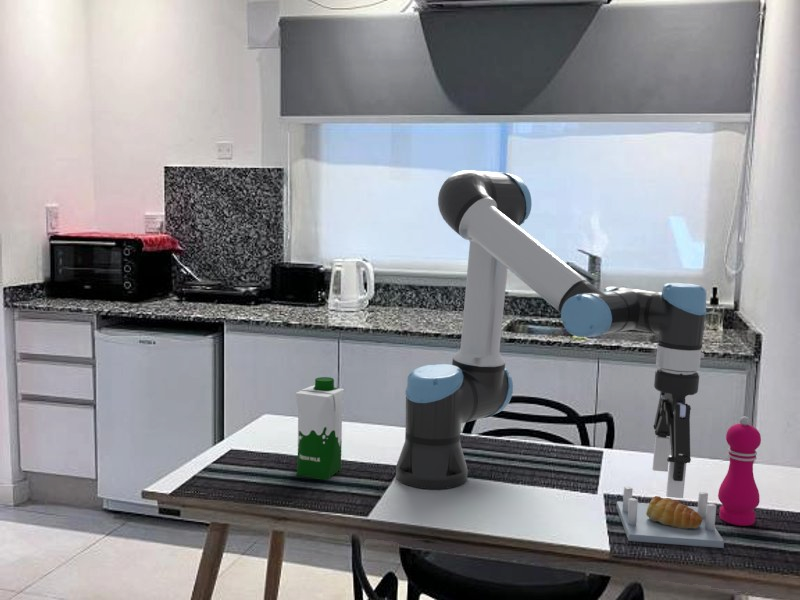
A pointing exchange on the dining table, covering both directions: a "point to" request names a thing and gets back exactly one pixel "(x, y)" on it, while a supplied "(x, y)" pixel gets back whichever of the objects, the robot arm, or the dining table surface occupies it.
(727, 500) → the pepper mill
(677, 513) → the pastry
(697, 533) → the tray
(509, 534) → the dining table surface
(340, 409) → the milk carton
